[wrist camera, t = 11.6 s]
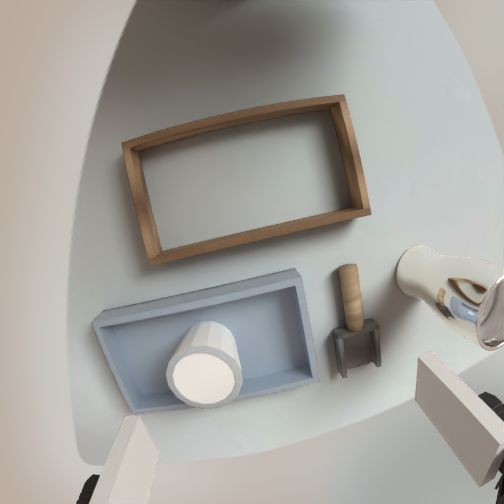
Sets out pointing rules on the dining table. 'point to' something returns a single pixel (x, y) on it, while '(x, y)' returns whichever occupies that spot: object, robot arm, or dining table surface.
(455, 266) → the silver metal tumbler
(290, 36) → the dining table surface
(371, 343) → the hand scoop
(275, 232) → the walnut frame
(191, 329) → the white faceted cup
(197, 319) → the bin
